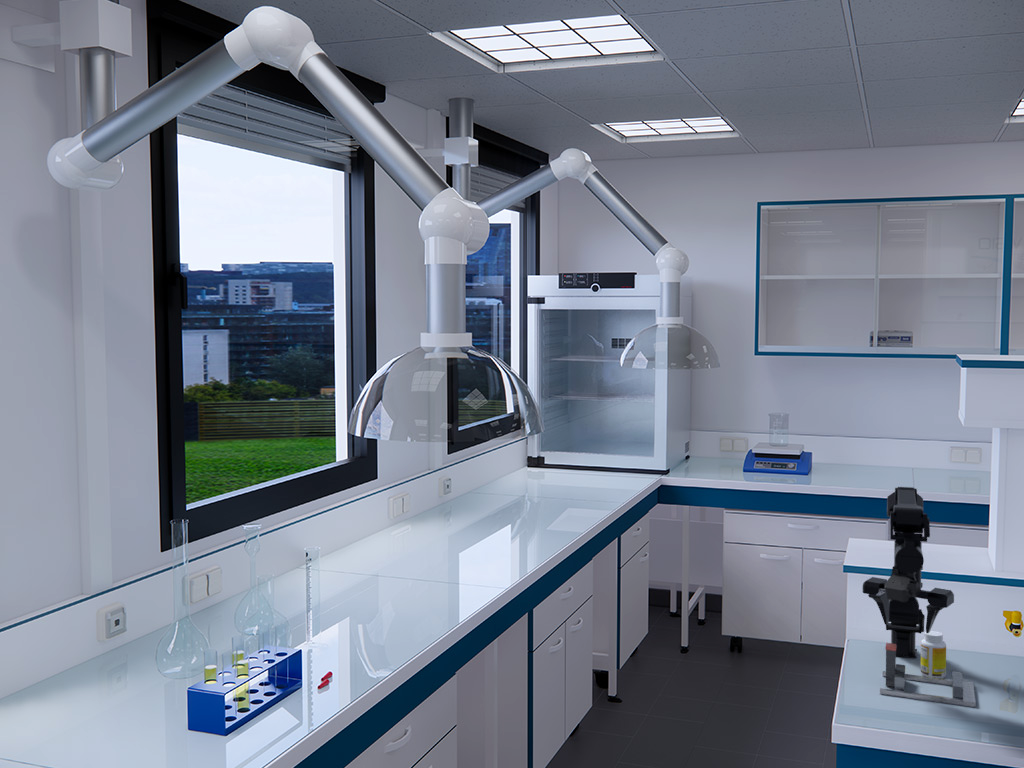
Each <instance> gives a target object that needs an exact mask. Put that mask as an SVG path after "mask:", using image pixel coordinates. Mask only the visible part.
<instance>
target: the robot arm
mask: <svg viewBox="0 0 1024 768" xmlns="http://www.w3.org/2000/svg"><path fill="white" fill-rule="evenodd" d="M886 505H887V506H886V517H888V518H889V524H890V526H889V528H890V536H889V537H890V540H893V541H894V545H893V546H894V549H893V550H894V551H893V552H894V554H893V555H894V556H893V557H894V558H893V559H894V561H893V562H894V563H893V566H892V568H891V575H890V577H889V578H881V577H874V576H872V577H870V578H867V580H865V581H864V582H863V584H862V593H863V594H865V595H866V594H867V595H868V598H871V599H872V600H874V602H876V604H877V607H878V609H879V611H880V615H881V617H882V620H883V622H884V625H885V631H890V636H891V637H890V643H892V644H896V657H901V658H902V657H905V658H912V659H917V657H918V648H916V634H922V633H925V632H926V633H929V632H930V631H932V630H931V629H932V627H933V625H934V623H935V621H936V618H937V616H938V614H939V613H940V611H941V610H943V609H945V608H949V607H950V606H951V605H952V604H954V603H955V593H954V592H953V591H952V590H951V589H946V588H940V587H934V588H933V589H931V590H924V589H922V588H923V585H924V584H923V582H922V571H923V570H924V566H923V565H924V561H925V559H924V554H923V551H922V547H923V546H922V542H925V543H927V542H928V538H930V536H931V528H930V525H931V524H930V518H929V517H928V514H927V513H926V512H924V498H923V497H922V496H921V495H920V494H919V493H918V488H915V487H913V486H912V487H911V486H897V487H894V492H892V493H891V494H889V495H888V496H887V498H886ZM918 599H921V600H923V599H924V600H927V603H928V605H926V610H927V615H926V618H925V614H924V613H923V610H922V609H921V608H920V603H919V600H918ZM925 619H926V623H925Z"/></svg>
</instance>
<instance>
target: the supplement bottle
mask: <svg viewBox="0 0 1024 768" xmlns="http://www.w3.org/2000/svg"><path fill="white" fill-rule="evenodd" d="M943 638H944V637H943V633H942V632H941V631H936V630H930V632H929V633H926V631H924V637H923V639H922V640H920V674H921V676H926V677H934V678H942V679H945V677H946V676H947V643H946V642H945V641H944V640H943Z"/></svg>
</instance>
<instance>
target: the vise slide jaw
mask: <svg viewBox="0 0 1024 768" xmlns="http://www.w3.org/2000/svg"><path fill="white" fill-rule="evenodd" d="M896 661H897V656H896V644H892V643H891V642H886V643H885V671H886V677H885V687H893V688H894V690H898V691H905V687H906V679H905V674H906V664H899V663H896Z"/></svg>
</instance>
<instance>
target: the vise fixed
mask: <svg viewBox="0 0 1024 768" xmlns="http://www.w3.org/2000/svg"><path fill="white" fill-rule="evenodd" d="M951 673H952V674H951V676H952V677H951V679H948V678H934V677H926V676H924V675H917V674H908V673H905V681H906V680H908V681H914V682H922V683H928V684H939V685H946V686H951V689H952V697H949V696H940V695H935V694H933V695H932V694H926V693H919V692H911V691H906V690H904V691H898V690H895V689H889V688H882V687H880V688H879V695H884V696H893V697H900V698H907V699H915V700H921V701H922V700H923V701H926V702H927V701H928V702H936V703H943V704H948V705H957V706H965V707H972V708H976V696H975V687H974V682H970V681H963V680H964V679H963V673H962V672H960V671H952V672H951ZM883 676H886V670H882V677H883Z"/></svg>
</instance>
